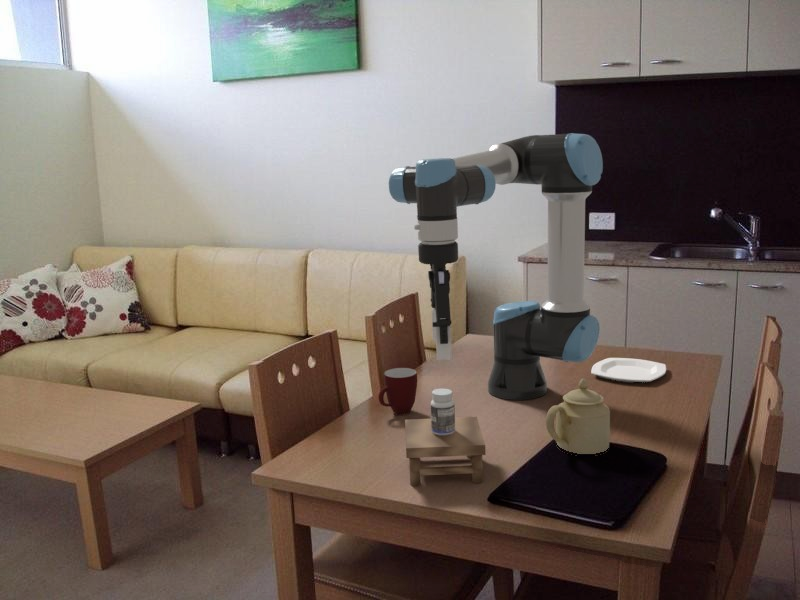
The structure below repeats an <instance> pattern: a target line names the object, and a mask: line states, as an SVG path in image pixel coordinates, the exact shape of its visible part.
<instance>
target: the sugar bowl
mask: <svg viewBox="0 0 800 600" xmlns="http://www.w3.org/2000/svg"><path fill="white" fill-rule="evenodd" d="M588 387H589V384H588V381H587V380H586V378H581V379H580V380H579V382H578V388H576V389H572V390H570V391H568V392H567V393H566V394H564V395H563V396H562V400H563V401H562V402H561V403H558V405H557V404H554V405H552V406H551V407H550V408H549V409H548V411H547V413H546V418H545V425H546V429H547V432H548V434H549V435H550V437H551V439H553V440H554V441H555V444H556V443H557V445H558V446H559V447H560V448H562V449H564V450H566V451H569V452H573V453H577V454H596V453H600V452H604V451H606V450H607V449H608V448H609V449H610V439H611V438H610V435H611V433H610V432H611V410H610V408H609V406H607V405H606V404H604V403H603V402H604V400H605V398H604V396H602V395H601V394H599V393H598V392H596V391H595V390H591V389H587V388H588ZM557 445H556V446H557ZM609 449H608V450H609ZM606 452H607V451H606Z"/></svg>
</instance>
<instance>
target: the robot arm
mask: <svg viewBox="0 0 800 600" xmlns="http://www.w3.org/2000/svg"><path fill="white" fill-rule="evenodd" d="M603 162H604V161H603V155H602V152H601V149H600V146H599V144H598V143H597V141H596V139H595V138H594V137H593V136H592V135H589V134H585V133H574V132H571V133H560V134H559V133H558V134H542V135H541V134H540V135H539V134H535V135H528V136H523V137H519V138H516V139H512V140H511V139H510V140H509V141H508V140H507V141H504V142H501V143H498V144H494V145H492V146H491V147H489V148H488V150H484V151H481V152H477V153H472V154H468V155H464V156H463V155H462V156H457V157H454V158H453V157H452V158H450V157H447V158H446V157H445V158H443V157H440V158H425V159H424V158H423V159H420V160H418V161H417V162H416V164H415V166H410V165H406V166H400V167H396V168H395V169H394V170H393V171H392V172H391V173H390V176H389V179H388V192H389V195H390V196H391V199H393V200H394V201H395V202H397V203H401V204H402V203H403V204H407V205H411V204H416V207H417V208H416V209H417V210H416V211H417V215H416V219H417V224H414V226H413V227H414V230H416V231H417V238H418V240H419V241H420V242H419V244H418V245H417V247H418V261H419V262H420V263H421V264H423V265H429V266H430V270H428V274H427V276H428V280H429V288H430V302H431V305H430V306H431V328H432V330H431V332H432V341H433V342H435V343H436V344H435V347H436V360H437V361H446V360H447V361H449V360H450V361H451V360H452V358H453V357H452V335H451V333H452V331H451V325H452V320H451V319H452V318H451V305H450V291H451V288H450V287H451V286H450V282H451V273H450V270H448V269H447V268H446V265H447V264H453V263H457V261H458V260H459V244H458V242H457V241H456V240H457V239H458V238H459V235H458V234H459V231H458V230H459V229H458V228H459V227H458V211H457V210H458V209H457V208H458V207H463V206H469V205H479V204H481V203H485V202H487V201H489V200H490V199H491V198H492V196H494V193H495V190H496V185H499V186H500V185H501V186H504V185H508V184H523V185H524V184H525V185H526V184H527V185H540V186H541V194H542V195H543V196H544V197H545V199H547V288H546V289H547V293H546V294H547V298H546V300H545V301H544V302H543V303H542V304H540V302H538V301H536V300H535V301H534V300H527V301H526V300H524V301H515V302H508V303H504V304H502V305H499V306H497V307H496V308H495V309H494V311H493V321H492V325H493V351H494V352H493V354H494V355H493V356H494V357H493V358H494V359H493V365H492V369H491V371H490V374H489V378H488V381H487V391H488V393H489V394H490V395H492V396H494V397H496V398H500V399H504V400H505V399H506V400H515V401H516V400H519V401H520V400H521V401H523V400H531V399H536V398H537V399H538V398H539V397H543V396H544V395H546V393H547V391H548V389H547V388H548V384H547V380H546V375H545V373H544V370H543V367H542V365H541V359H540V358H547V359H552V360H559V361H563V362H564V363H565V362H566V363H569V362H570V363H583V362H585V361H586V360H588V359H589V358H590V357H591V356H592V354H593V352H594V351H595V349H596V346H597V344H598V340H599V338H600V337H599V336H600V323H599V319H598V318H597V317H596V316H594V315H592V314H591V305H590V304H589V303H588V302H587V301H586V300H585V299H584V298H585V295H584V294H585V247H586V245H585V242H586V240H585V239H586V237H585V236H586V234H585V233H586V232H585V231H586V199H587V198H588V197H589V196H590V195H591V194H592V192H593V186H595V185H596V184H598V183H599V181H600V180H601V178H602V176H601V175H602V174H603V169H604V166H603V164H604V163H603Z"/></svg>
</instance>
